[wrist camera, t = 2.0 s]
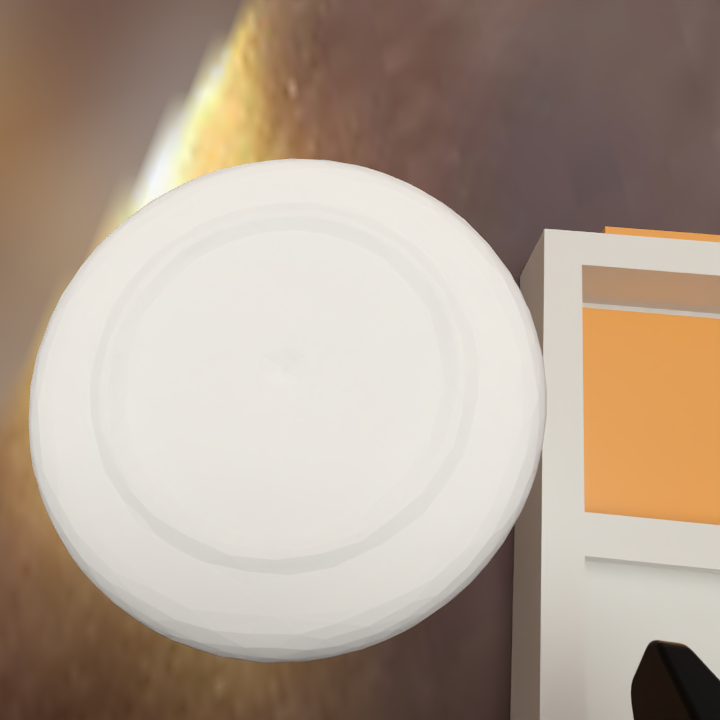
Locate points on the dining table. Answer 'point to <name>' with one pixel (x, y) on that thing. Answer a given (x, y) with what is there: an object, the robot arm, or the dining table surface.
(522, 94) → the dining table surface
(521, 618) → the condiment rack
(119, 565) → the sprinkles bottle
